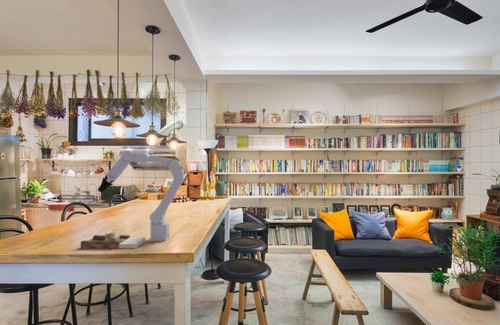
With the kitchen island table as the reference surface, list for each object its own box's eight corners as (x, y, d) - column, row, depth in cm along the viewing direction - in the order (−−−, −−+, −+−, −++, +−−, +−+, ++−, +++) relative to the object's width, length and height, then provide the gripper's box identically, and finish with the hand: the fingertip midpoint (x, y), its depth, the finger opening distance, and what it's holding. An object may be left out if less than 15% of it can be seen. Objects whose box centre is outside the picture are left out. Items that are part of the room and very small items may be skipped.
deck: (145, 241, 148) (145, 235, 148) (135, 248, 135) (135, 241, 135) (94, 241, 147) (95, 235, 147) (80, 248, 134) (80, 241, 134)
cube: (119, 239, 144) (119, 231, 144) (115, 241, 139) (115, 233, 139) (109, 239, 143) (109, 231, 144) (105, 241, 138) (105, 233, 139)
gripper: (112, 162, 156) (96, 182, 155) (108, 167, 143) (91, 188, 141) (123, 170, 159) (107, 189, 157) (121, 175, 145) (103, 196, 144)
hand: (100, 189), depth 150 cm, fingers open, 7 cm apart
